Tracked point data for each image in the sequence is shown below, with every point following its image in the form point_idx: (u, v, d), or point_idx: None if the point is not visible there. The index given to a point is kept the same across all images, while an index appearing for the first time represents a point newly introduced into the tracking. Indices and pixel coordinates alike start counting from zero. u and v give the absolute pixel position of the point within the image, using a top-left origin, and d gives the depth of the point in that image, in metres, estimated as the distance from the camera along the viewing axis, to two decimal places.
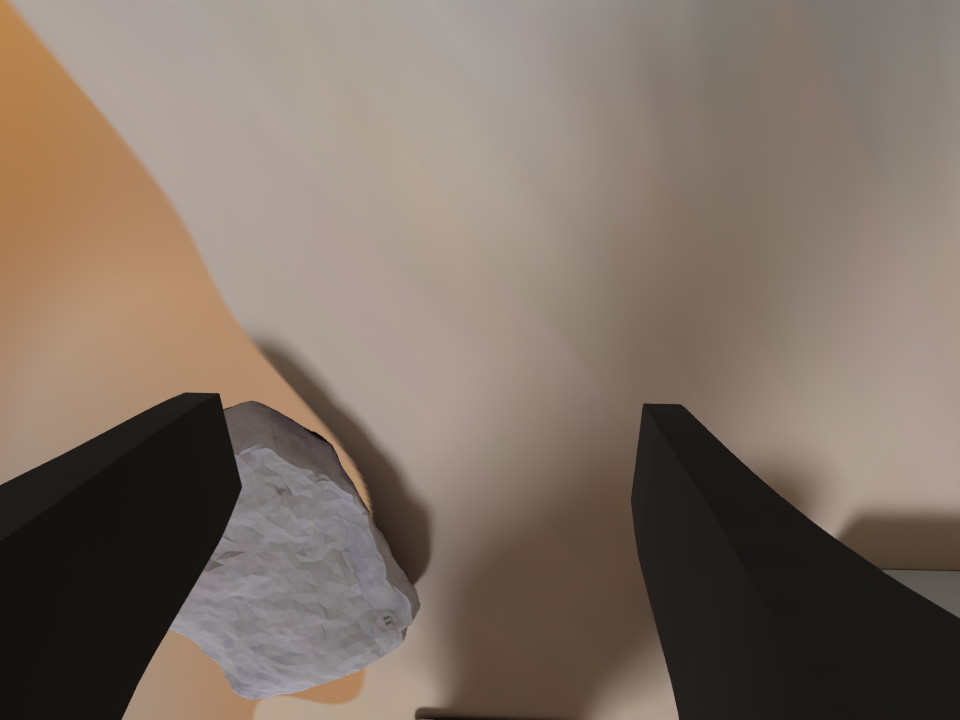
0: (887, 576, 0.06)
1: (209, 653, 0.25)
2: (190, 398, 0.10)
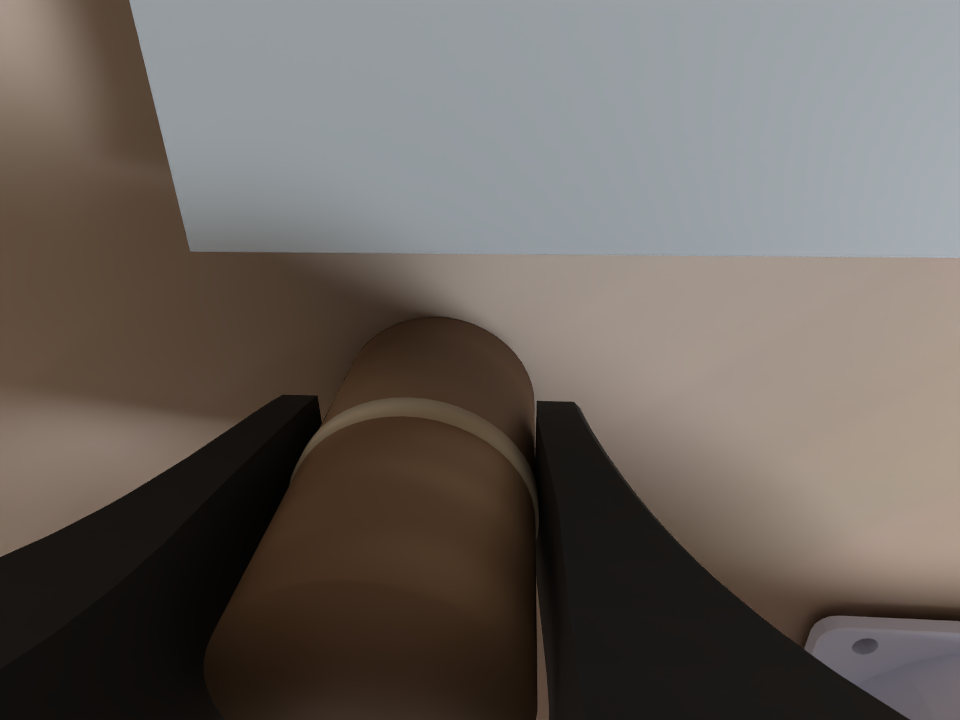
0: None
1: None
2: (292, 401, 0.10)
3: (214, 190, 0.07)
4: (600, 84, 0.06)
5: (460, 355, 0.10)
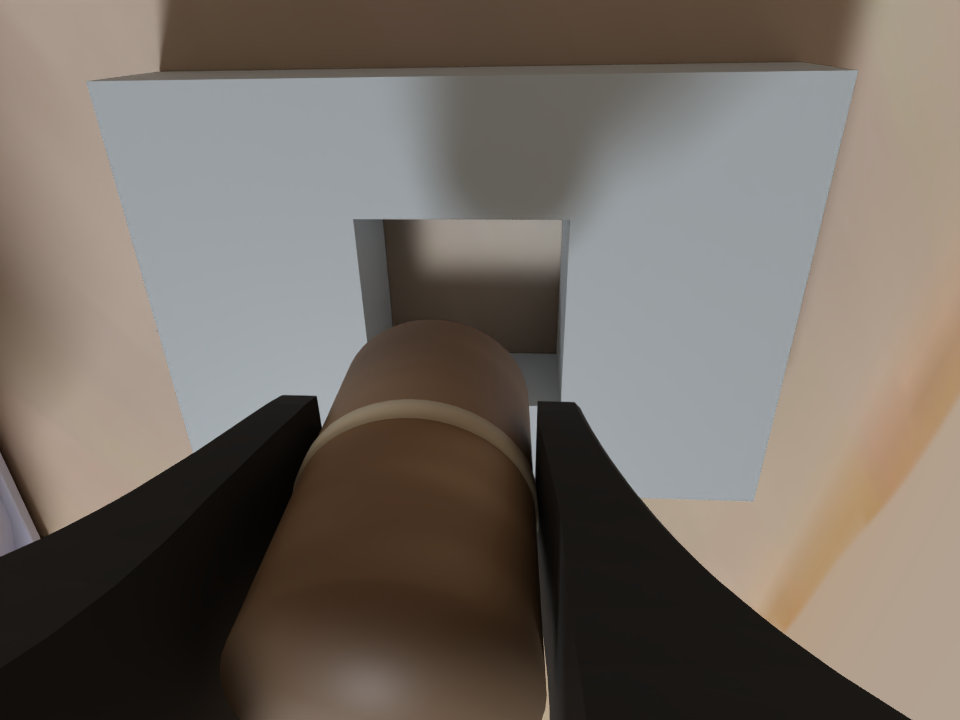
0: (705, 569, 0.06)
1: None
2: (291, 401, 0.10)
3: (125, 104, 0.14)
4: (216, 290, 0.16)
5: (468, 360, 0.10)
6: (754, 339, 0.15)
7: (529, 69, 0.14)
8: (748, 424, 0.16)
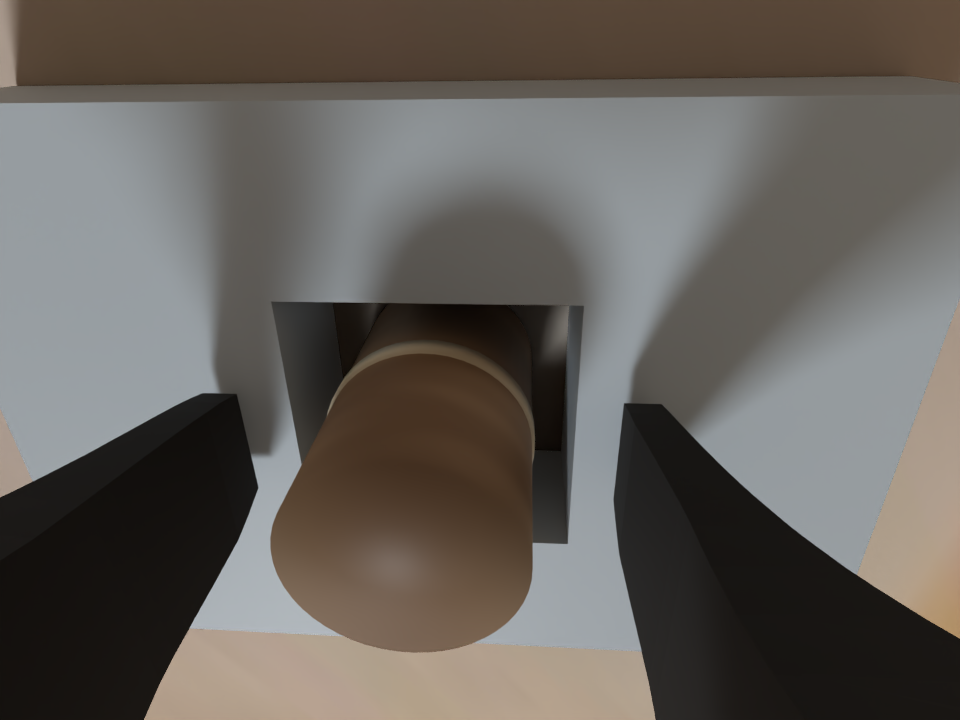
0: (853, 575, 0.06)
1: None
2: (208, 399, 0.10)
3: None
4: (88, 392, 0.11)
5: (477, 314, 0.12)
6: (841, 465, 0.11)
7: (525, 86, 0.10)
8: None
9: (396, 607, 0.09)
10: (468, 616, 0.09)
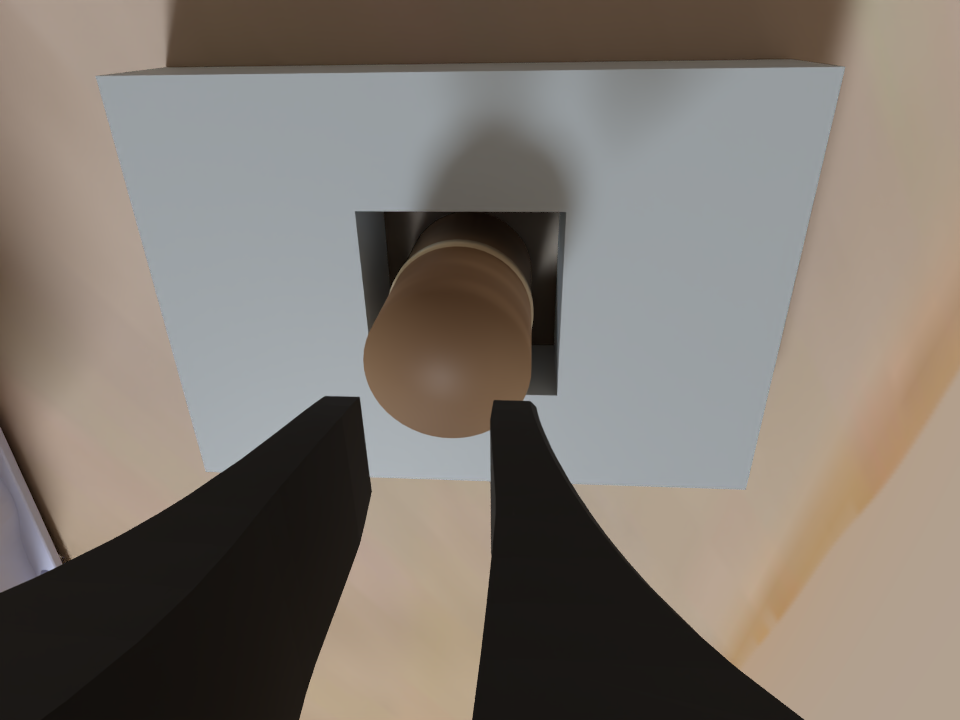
0: None
1: None
2: (335, 402, 0.10)
3: (133, 98, 0.14)
4: (221, 280, 0.16)
5: (492, 229, 0.17)
6: (745, 329, 0.16)
7: (526, 65, 0.15)
8: (740, 413, 0.17)
9: (442, 402, 0.14)
10: (490, 407, 0.14)
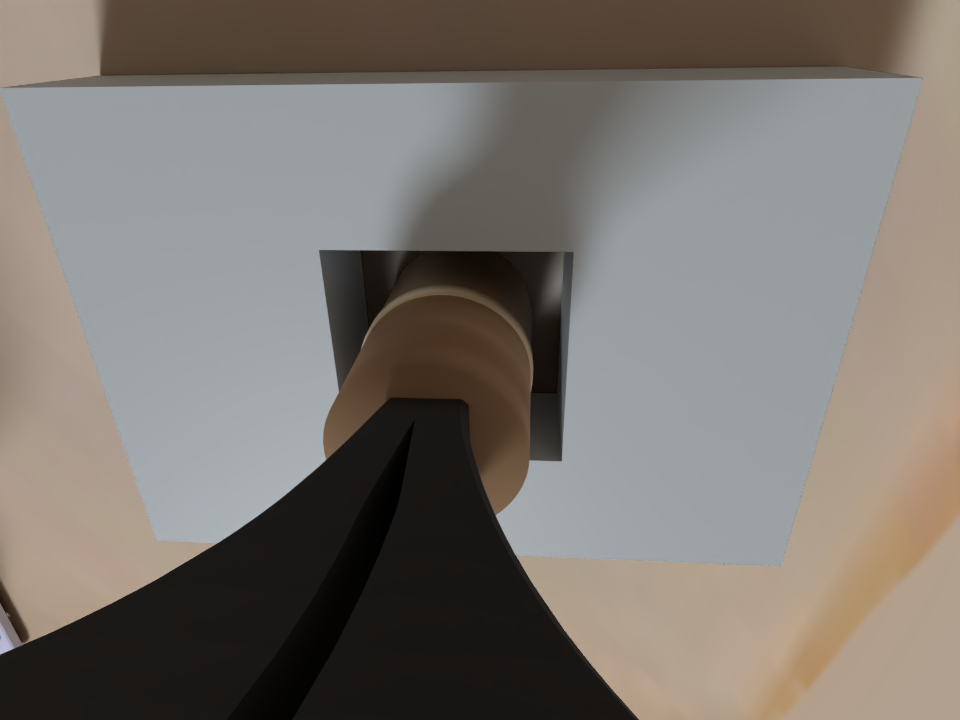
0: (517, 561, 0.06)
1: None
2: (404, 405, 0.10)
3: (45, 115, 0.12)
4: (163, 329, 0.14)
5: (484, 268, 0.14)
6: (787, 388, 0.13)
7: (526, 74, 0.12)
8: (777, 483, 0.14)
9: None
10: None
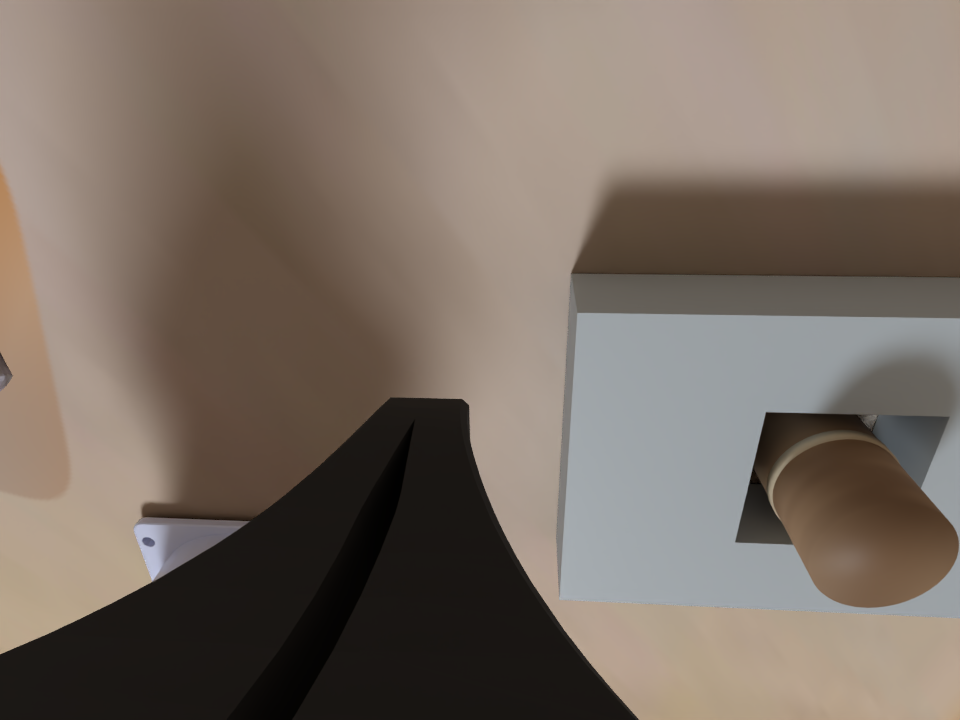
0: (518, 560, 0.06)
1: None
2: (404, 404, 0.10)
3: (603, 329, 0.17)
4: (628, 459, 0.19)
5: None
6: None
7: (913, 292, 0.18)
8: None
9: (869, 581, 0.17)
10: (909, 586, 0.17)
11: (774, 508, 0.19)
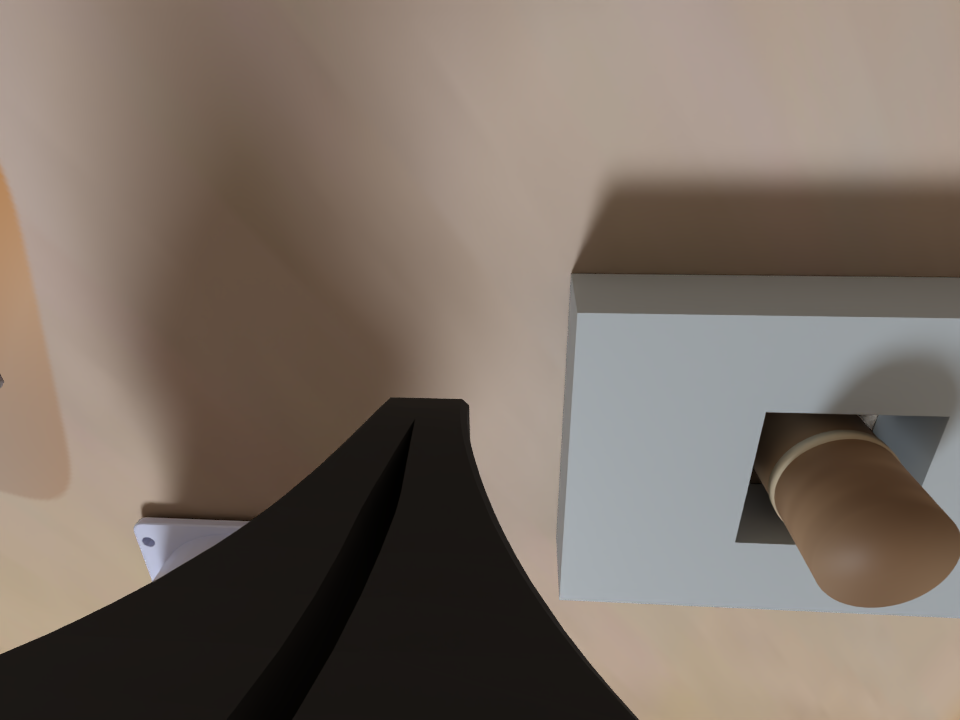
0: (517, 560, 0.06)
1: None
2: (404, 404, 0.10)
3: (603, 329, 0.17)
4: (628, 459, 0.19)
5: None
6: None
7: (913, 292, 0.18)
8: None
9: (873, 581, 0.17)
10: (913, 585, 0.17)
11: (776, 510, 0.19)
